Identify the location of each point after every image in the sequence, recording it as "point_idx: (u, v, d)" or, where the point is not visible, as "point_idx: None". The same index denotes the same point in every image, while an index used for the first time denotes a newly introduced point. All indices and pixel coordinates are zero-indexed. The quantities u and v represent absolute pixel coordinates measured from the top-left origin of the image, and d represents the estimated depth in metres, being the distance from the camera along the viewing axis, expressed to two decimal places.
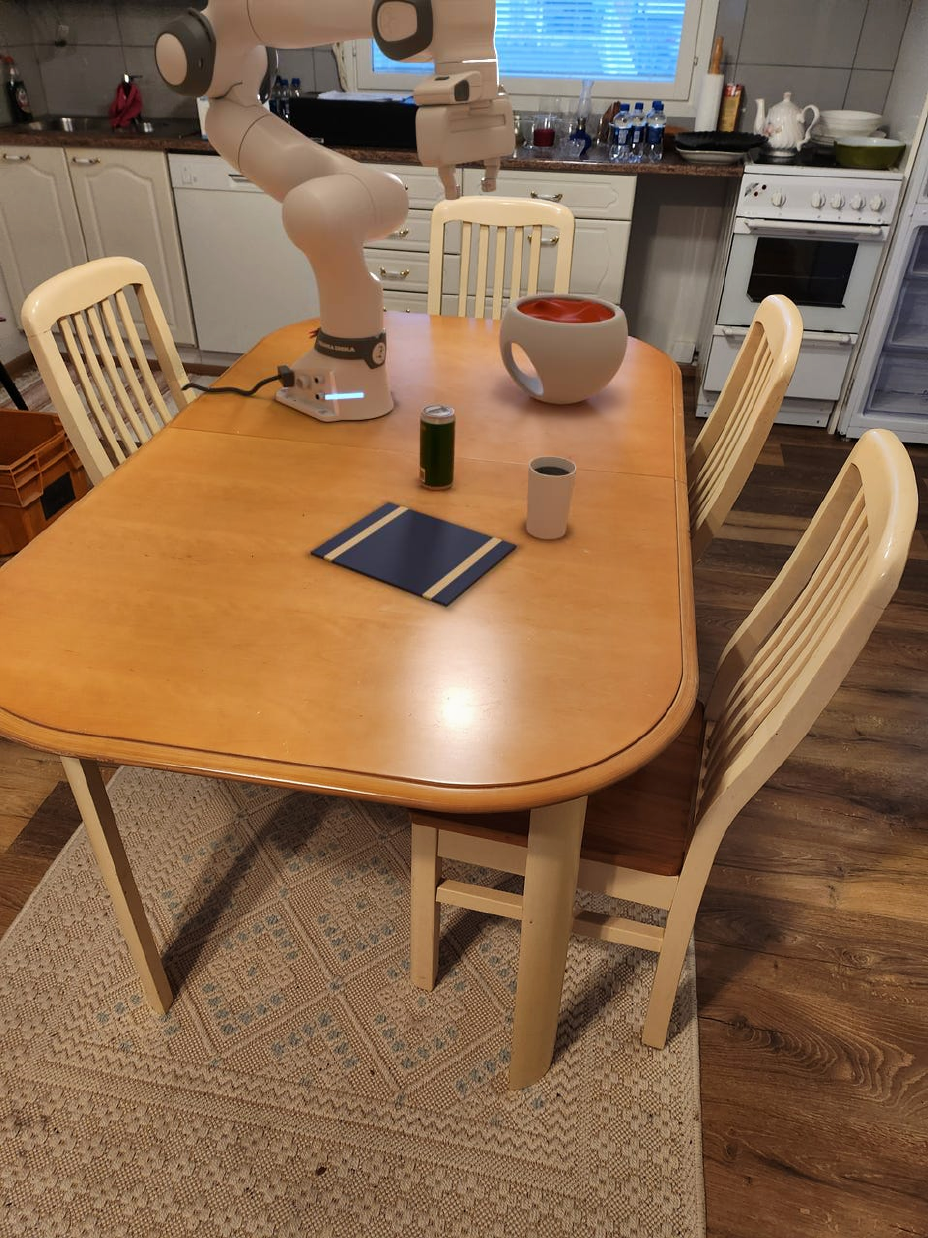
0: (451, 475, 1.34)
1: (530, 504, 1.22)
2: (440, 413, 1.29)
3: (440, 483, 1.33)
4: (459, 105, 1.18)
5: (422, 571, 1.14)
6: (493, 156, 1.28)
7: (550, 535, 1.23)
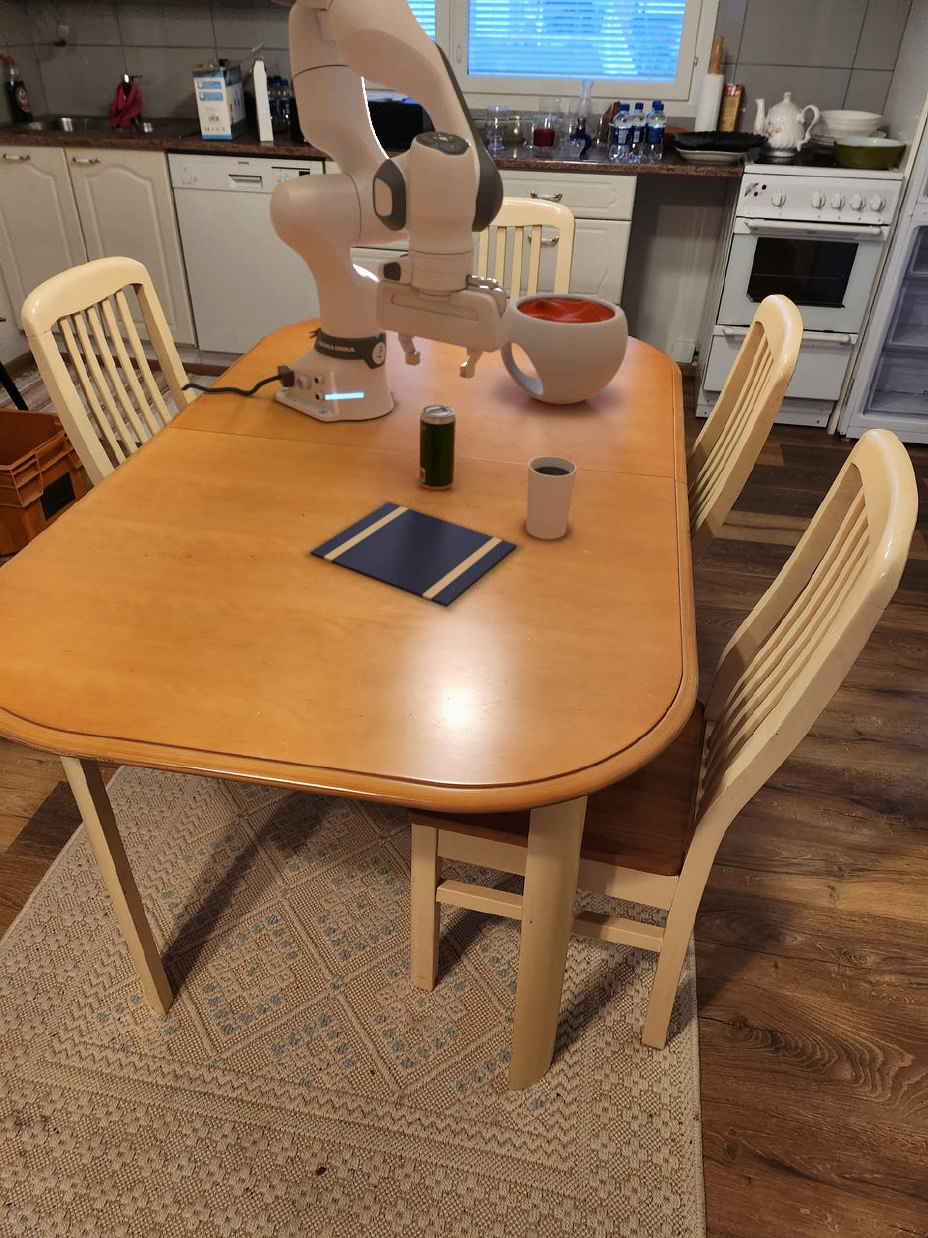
0: (451, 475, 1.34)
1: (530, 504, 1.22)
2: (440, 413, 1.29)
3: (440, 483, 1.33)
4: (394, 283, 1.20)
5: (422, 571, 1.14)
6: (455, 344, 1.20)
7: (550, 535, 1.23)
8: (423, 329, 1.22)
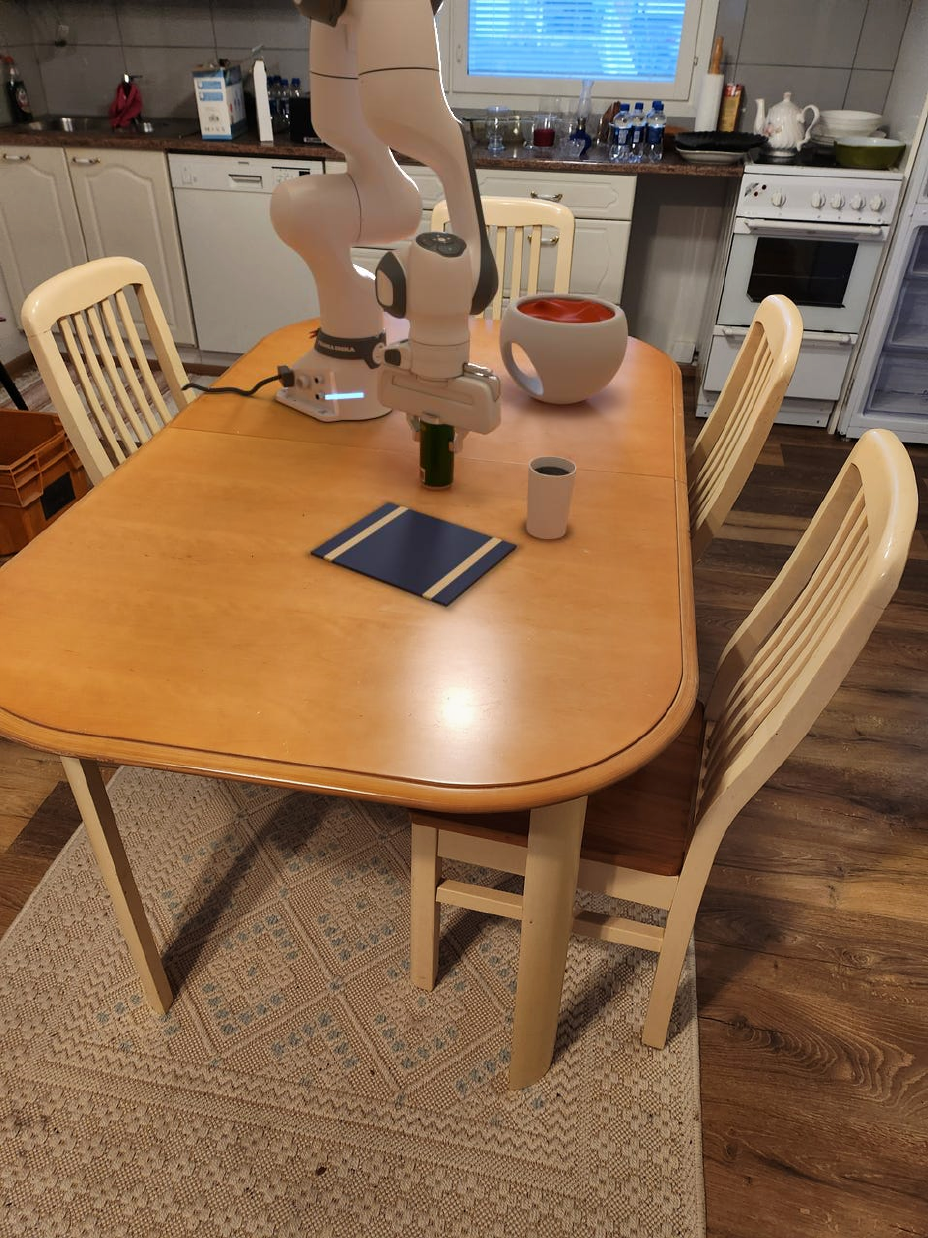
0: (451, 475, 1.34)
1: (530, 504, 1.22)
2: None
3: (440, 483, 1.33)
4: (395, 367, 1.26)
5: (422, 571, 1.14)
6: (452, 425, 1.27)
7: (550, 535, 1.23)
8: (422, 409, 1.29)
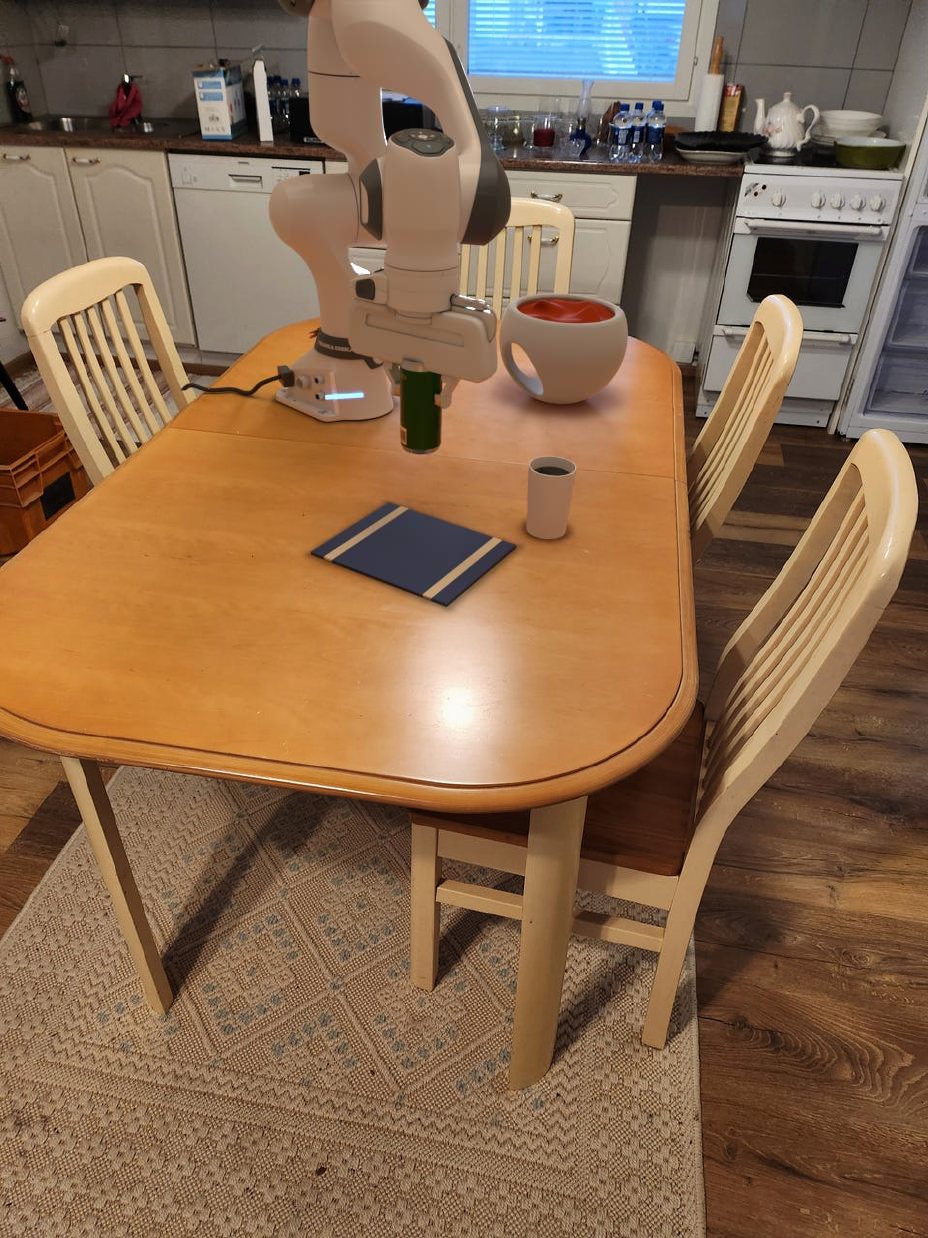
0: (438, 436, 1.12)
1: (530, 504, 1.22)
2: None
3: (425, 445, 1.11)
4: (368, 302, 1.04)
5: (422, 571, 1.14)
6: (438, 373, 1.05)
7: (550, 535, 1.23)
8: (401, 355, 1.06)
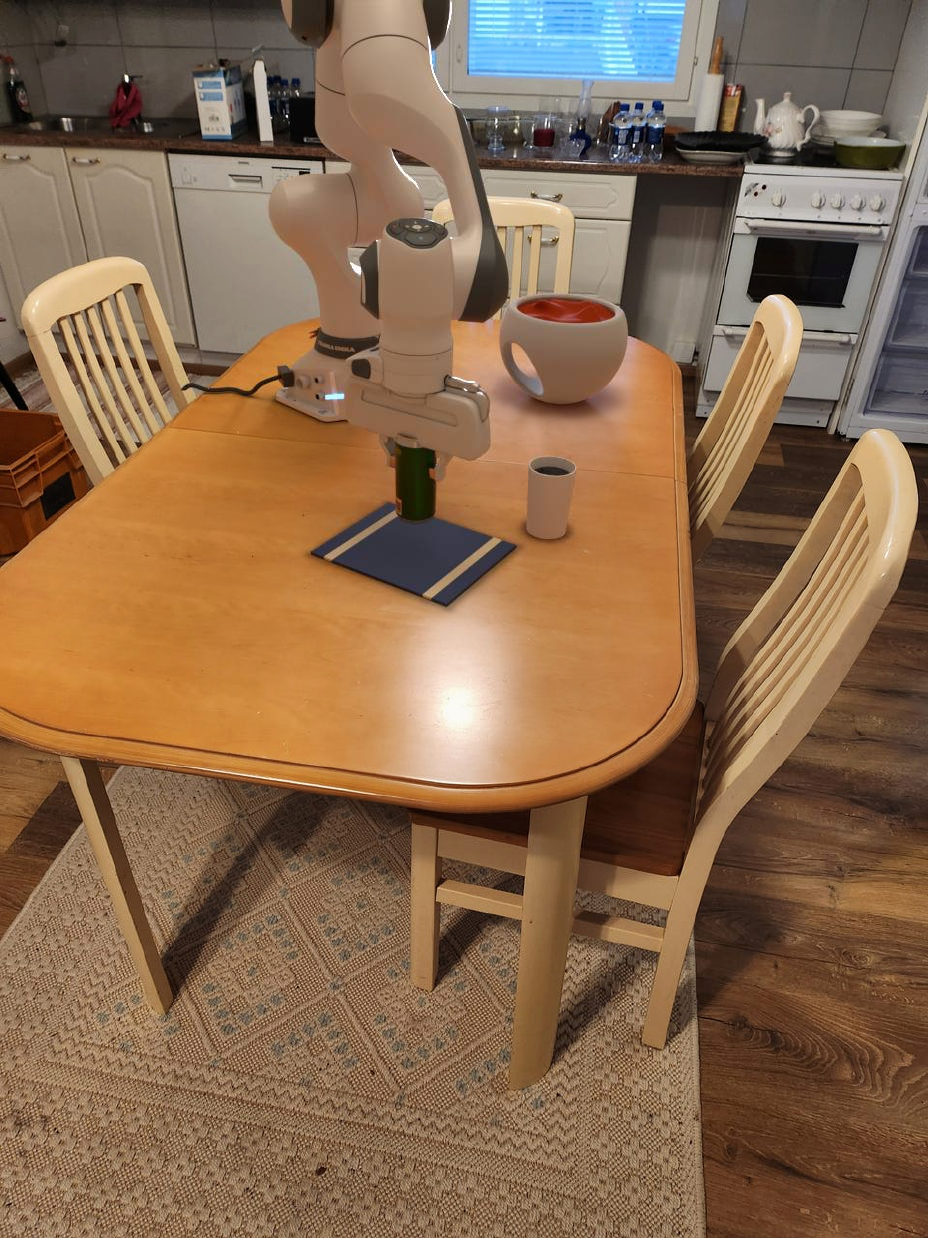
0: (433, 506, 1.14)
1: (530, 504, 1.22)
2: None
3: (419, 516, 1.13)
4: (364, 380, 1.06)
5: (422, 571, 1.14)
6: (433, 449, 1.07)
7: (550, 535, 1.23)
8: (397, 430, 1.08)
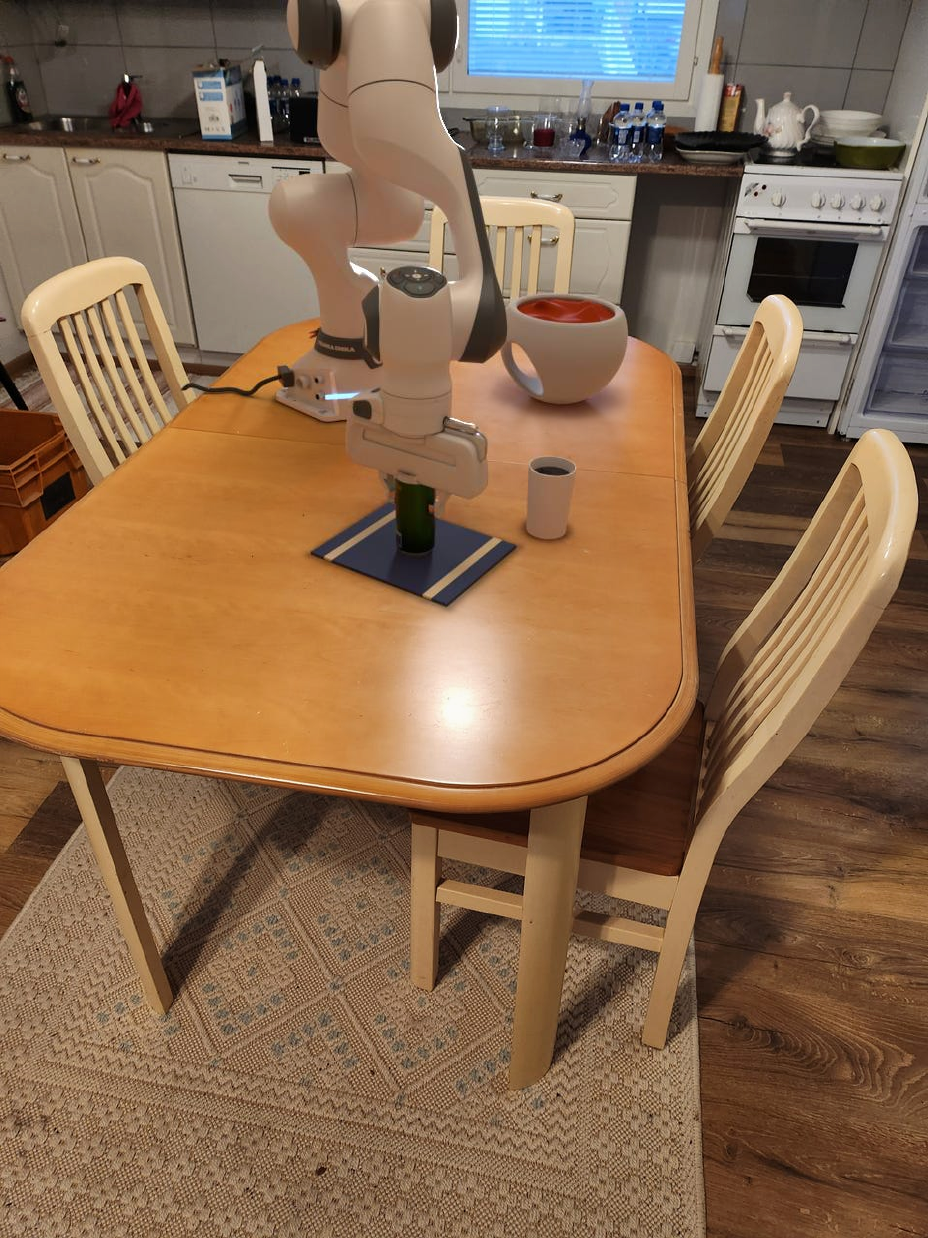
0: (432, 539, 1.17)
1: (530, 504, 1.22)
2: None
3: (419, 549, 1.16)
4: (365, 420, 1.09)
5: (422, 571, 1.14)
6: (432, 487, 1.10)
7: (550, 535, 1.23)
8: (397, 468, 1.11)
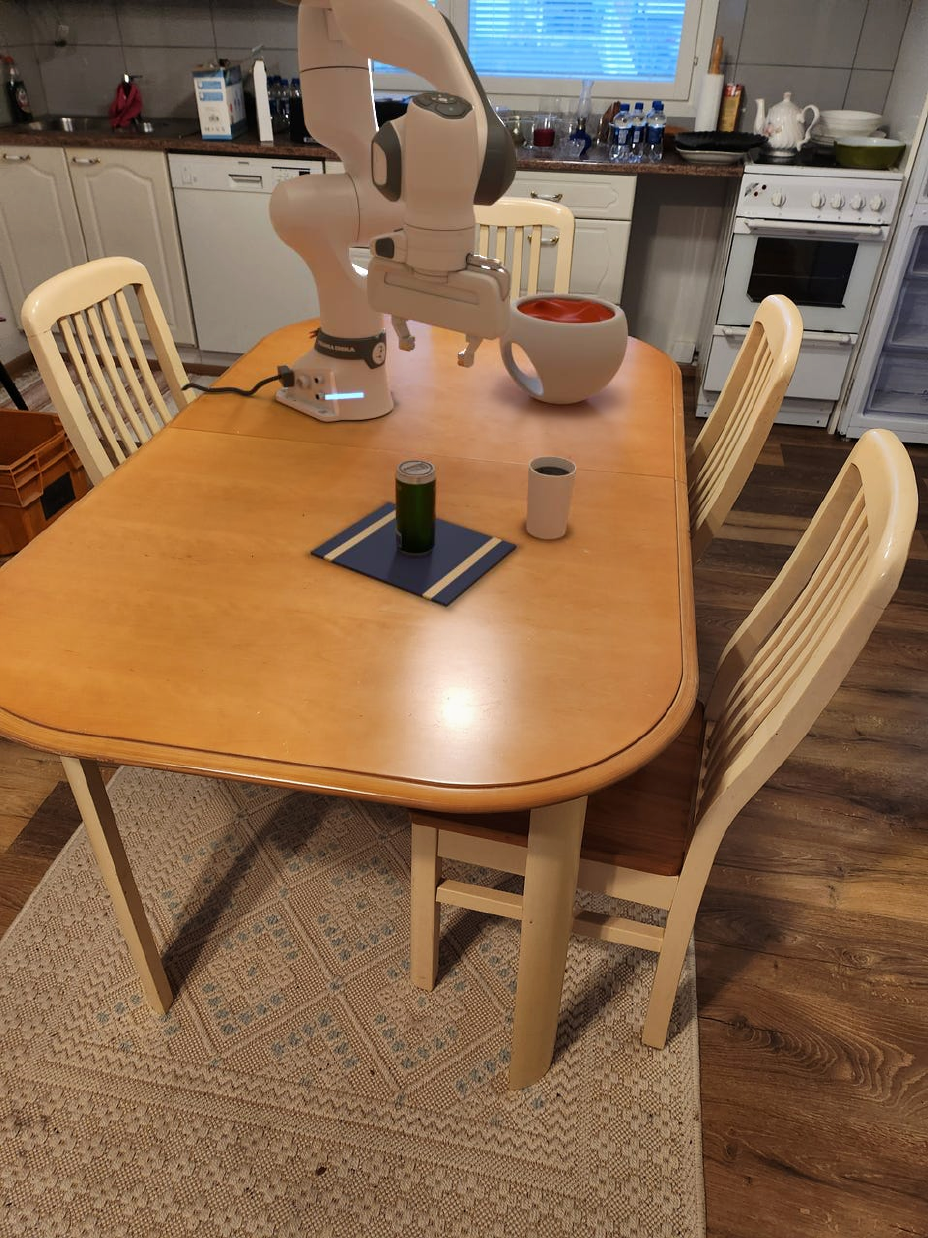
0: (432, 539, 1.17)
1: (530, 504, 1.22)
2: (418, 471, 1.11)
3: (419, 549, 1.16)
4: (387, 260, 1.09)
5: (422, 571, 1.14)
6: (453, 330, 1.10)
7: (550, 535, 1.23)
8: (418, 312, 1.11)
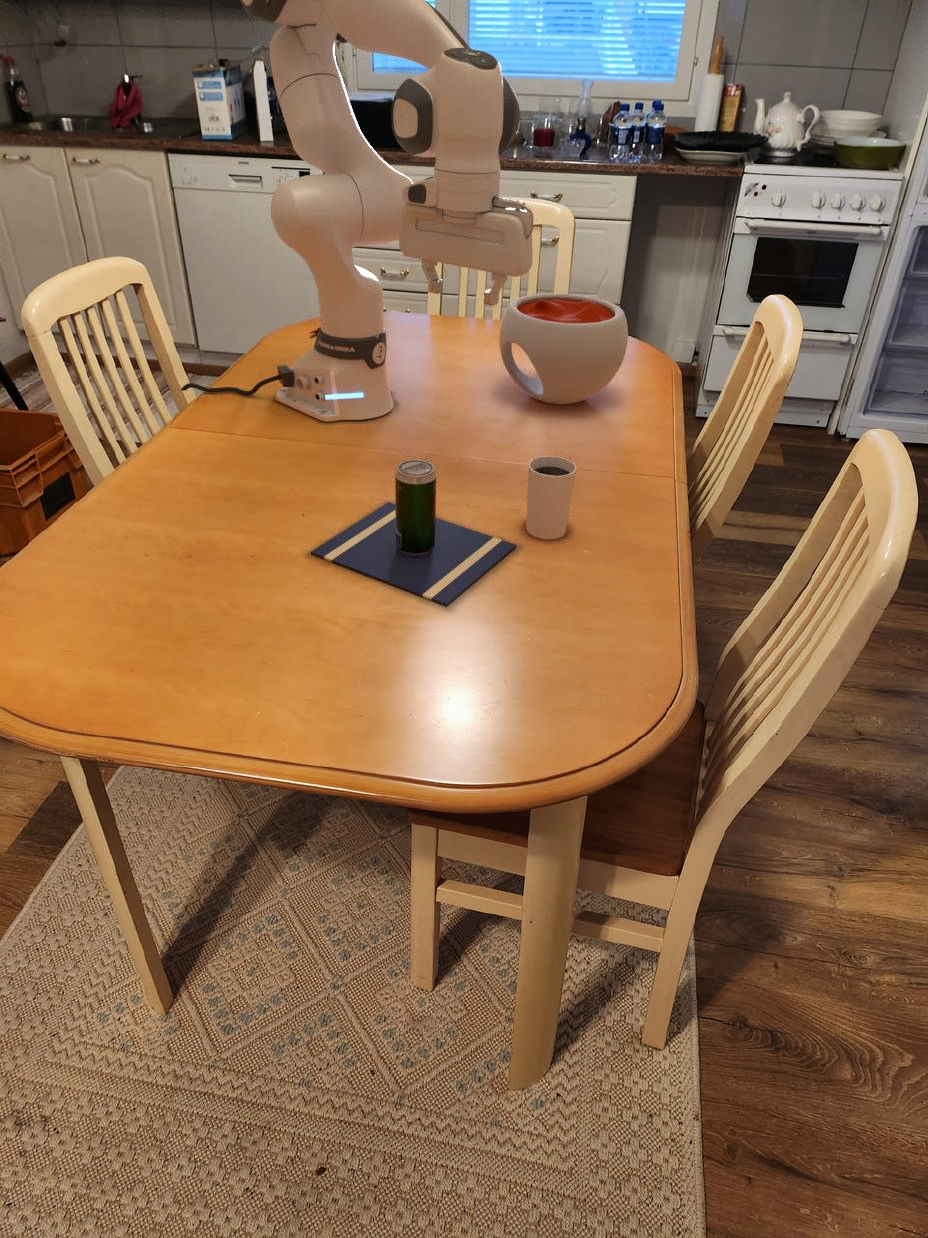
0: (432, 539, 1.17)
1: (530, 504, 1.22)
2: (418, 471, 1.11)
3: (419, 549, 1.16)
4: (419, 206, 1.19)
5: (422, 571, 1.14)
6: (480, 269, 1.20)
7: (550, 535, 1.23)
8: (447, 254, 1.21)
